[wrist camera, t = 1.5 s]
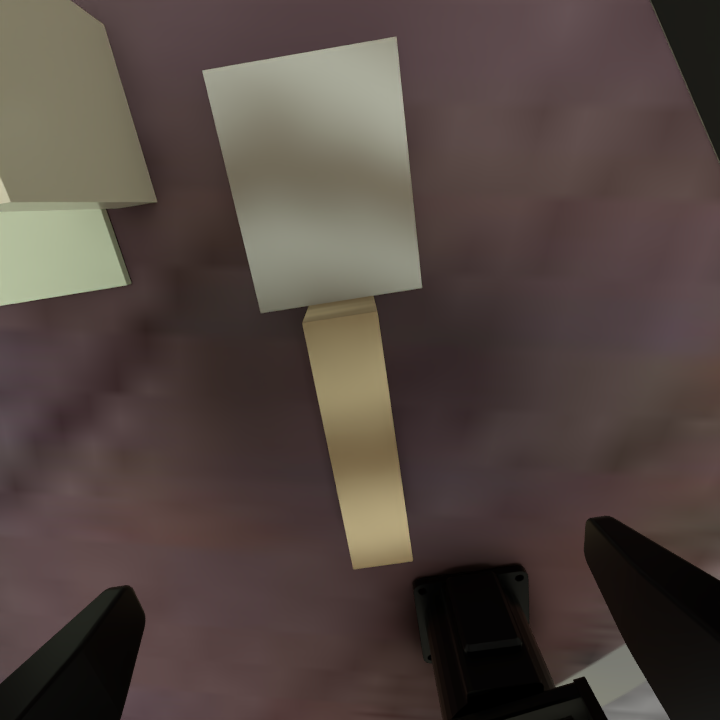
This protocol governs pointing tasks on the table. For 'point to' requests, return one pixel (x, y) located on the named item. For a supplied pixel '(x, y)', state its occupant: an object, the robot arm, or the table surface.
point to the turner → (331, 246)
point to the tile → (64, 114)
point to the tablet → (696, 54)
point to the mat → (57, 254)
